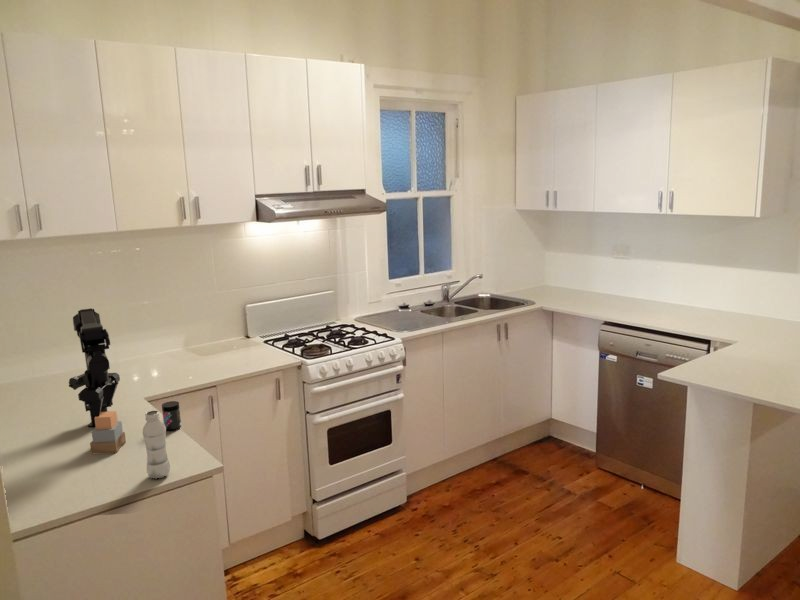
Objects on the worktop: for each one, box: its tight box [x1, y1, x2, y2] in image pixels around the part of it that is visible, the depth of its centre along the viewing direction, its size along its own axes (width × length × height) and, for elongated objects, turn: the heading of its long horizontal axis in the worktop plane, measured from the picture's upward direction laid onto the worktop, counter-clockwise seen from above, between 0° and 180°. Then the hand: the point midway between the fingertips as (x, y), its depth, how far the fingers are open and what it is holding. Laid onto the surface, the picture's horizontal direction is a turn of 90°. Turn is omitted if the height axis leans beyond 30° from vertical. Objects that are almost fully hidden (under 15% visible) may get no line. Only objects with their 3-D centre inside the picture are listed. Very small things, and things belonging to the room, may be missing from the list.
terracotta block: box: [94, 410, 118, 429], centre depth 207 cm, size 5×5×4 cm
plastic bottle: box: [142, 410, 171, 480], centre depth 186 cm, size 6×7×20 cm
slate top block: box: [91, 420, 124, 443], centre depth 207 cm, size 7×7×4 cm
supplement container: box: [161, 400, 182, 432], centre depth 222 cm, size 6×6×9 cm
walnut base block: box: [89, 431, 127, 455], centre depth 208 cm, size 8×8×4 cm
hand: (103, 411), depth 206 cm, fingers open, 9 cm apart
